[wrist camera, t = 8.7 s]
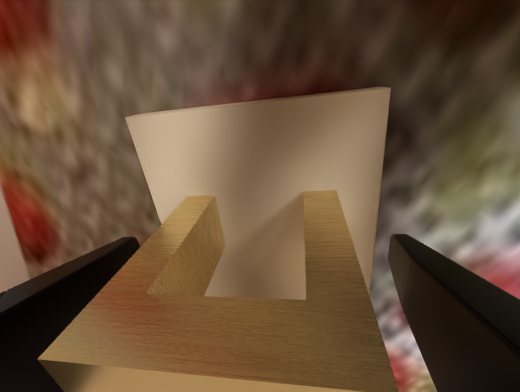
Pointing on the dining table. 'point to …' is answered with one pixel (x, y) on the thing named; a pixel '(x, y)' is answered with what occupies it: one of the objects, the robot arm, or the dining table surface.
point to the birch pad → (269, 177)
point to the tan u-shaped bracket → (226, 318)
